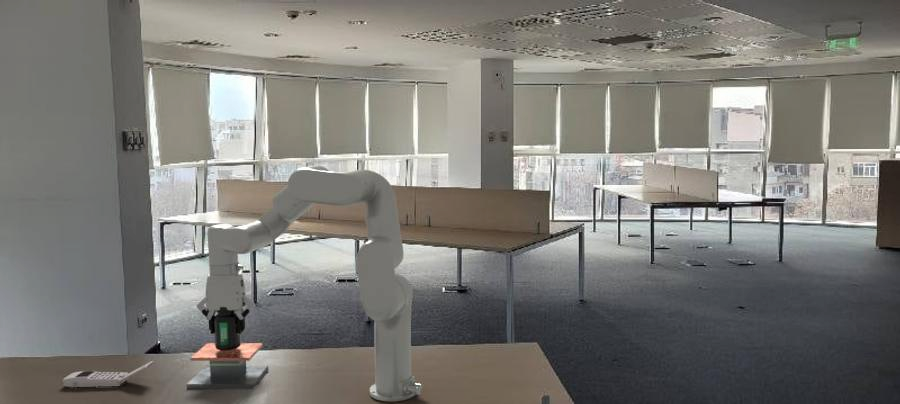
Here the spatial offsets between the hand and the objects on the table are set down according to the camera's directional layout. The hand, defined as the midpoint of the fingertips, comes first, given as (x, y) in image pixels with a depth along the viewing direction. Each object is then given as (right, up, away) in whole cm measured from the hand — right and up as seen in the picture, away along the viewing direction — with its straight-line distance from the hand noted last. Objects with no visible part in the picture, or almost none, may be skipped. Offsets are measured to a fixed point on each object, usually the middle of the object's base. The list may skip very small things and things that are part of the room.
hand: (227, 331), depth 187 cm
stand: (0, -13, +2) cm, 14 cm away
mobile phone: (-33, -14, -1) cm, 36 cm away
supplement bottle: (0, -4, +1) cm, 5 cm away
